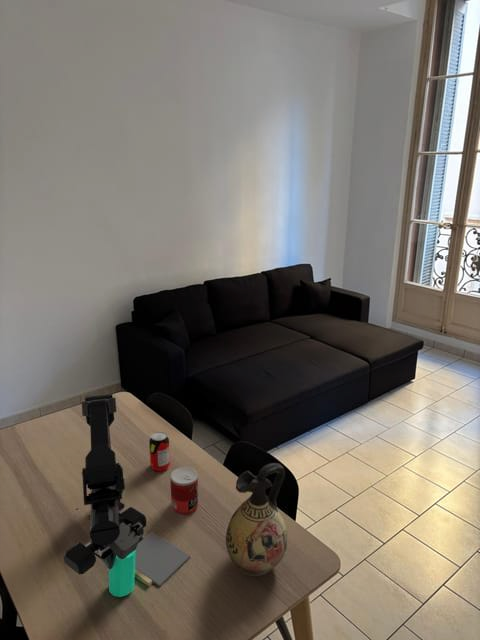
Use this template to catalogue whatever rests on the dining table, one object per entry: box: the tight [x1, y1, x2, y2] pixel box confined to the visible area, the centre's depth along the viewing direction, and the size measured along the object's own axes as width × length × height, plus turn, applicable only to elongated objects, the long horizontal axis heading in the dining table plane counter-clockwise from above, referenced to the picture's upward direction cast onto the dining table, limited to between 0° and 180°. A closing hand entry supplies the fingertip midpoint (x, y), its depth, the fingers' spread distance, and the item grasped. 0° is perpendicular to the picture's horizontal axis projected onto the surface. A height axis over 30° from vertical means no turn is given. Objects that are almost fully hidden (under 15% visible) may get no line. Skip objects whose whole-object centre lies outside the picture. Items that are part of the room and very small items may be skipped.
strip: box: [135, 569, 153, 588], centre depth 119 cm, size 10×1×1 cm, turn 54°
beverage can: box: [149, 431, 171, 472], centre depth 157 cm, size 6×6×12 cm
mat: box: [135, 531, 191, 588], centre depth 124 cm, size 14×11×1 cm
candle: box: [108, 550, 136, 598], centre depth 114 cm, size 6×6×12 cm
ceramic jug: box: [225, 462, 288, 577], centre depth 118 cm, size 17×15×30 cm
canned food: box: [169, 466, 199, 515], centre depth 140 cm, size 8×8×11 cm
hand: (109, 567), depth 110 cm, fingers closed
